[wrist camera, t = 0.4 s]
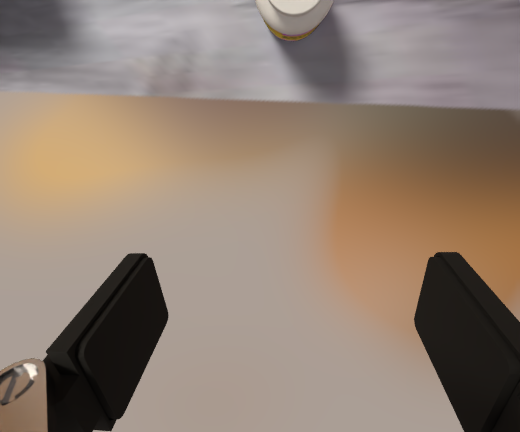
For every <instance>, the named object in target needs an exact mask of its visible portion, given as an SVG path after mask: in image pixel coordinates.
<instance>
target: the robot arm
mask: <svg viewBox="0 0 520 432" xmlns="http://www.w3.org/2000/svg"><path fill="white" fill-rule="evenodd" d="M167 320H168V310H167V307H166V303H165V300H164V297H163V293H162V290H161V287H160V283H159V280H158V276H157V273H156V270H155V266H154V263H153V260H152V258H148V256H147V254H144V253H141V254H140V253H139V254H138V253H137V254H128V255H127V256H126V257H125V258H124V259H123V260H122V262H121V263H120V264H119V265H118V266H117V267H116V269H115V270H114V271H113V272H112V273H111V275H110V276H109V277H108V278H107V279H106V280H105V282H104V283H103V284H102V285H101V286H100V288H99V289H98V290H97V291H96V292H95V294H94V295H93V296H92V297H91V298H90V300H89V301H88V302H87V303H86V304H85V305H84V307H83V308H82V309H81V310H80V312H79V313H78V314H77V315H76V316H75V317H74V319H73V320H72V321H71V322H70V324H68V326H67V327H66V328H65V329H64V330H63V332H62V333H61V334H60V335H59V336H58V338H57V339H56V340H55V341H54V342H53V344H52V345H51V346H50V347H49V348H48V349H47V351H46V353H47V354H48V355H47V356H46V358H45V359H44V360H43V361H41V360H40V359H34V358H31V359H25V360H21V361H19V362H16V363H13V364H12V365H10V366H8V367H6V368H4V369H3V370H1V371H0V432H92V431H93V430H102V431H111V430H112V428H113V426H114V424H115V422H116V420H117V419H120V418H121V417H122V416H123V414H124V413H125V410H126V408H127V406H128V404H129V402H130V400H131V397H132V396H133V393H134V391H135V389H136V387H137V385H138V383H139V381H140V379H141V376H142V374H143V372H144V370H145V368H146V366H147V364H148V361H149V359H150V357H151V355H152V353H153V351H154V349H155V347H156V345H157V343H158V340H159V338H160V336H161V334H162V332H163V330H164V328H165V326H166V323H167ZM414 321H415V327H416V330H417V332H418V334H419V336H420V338H421V340H422V342H423V344H424V347H425V349H426V351H427V353H428V355H429V357H430V360H431V362H432V364H433V366H434V368H435V370H436V372H437V374H438V377H439V379H440V381H441V383H442V385H443V387H444V389H445V392H446V394H447V396H448V398H449V400H450V402H451V404H452V406H453V409H454V411H455V413H456V415H457V417H458V419H459V421H460V424H461V425H462V428H463V430H464V432H520V322H519V321H518V320H517V319H516V317H515V316H514V315H513V314H512V313H511V312H510V311H509V309H508V308H507V307H506V306H505V305H504V304H503V303H502V302H501V300H500V299H499V298H498V297H497V296H496V295H495V293H494V292H493V291H492V290H491V289H490V288H489V287H488V286H487V284H486V283H485V282H484V281H483V280H482V279H481V278H480V276H479V275H478V274H477V273H476V272H475V271H474V270H473V268H472V267H470V265H469V264H468V263H467V262H466V260H465V259H464V258H463V257H462V256H461V255H460V254H459V253H457V252H438V253H436V254H435V255H434V257H430V258H429V260H428V264H427V268H426V272H425V276H424V280H423V284H422V288H421V292H420V296H419V301H418V305H417V309H416V313H415V318H414Z"/></svg>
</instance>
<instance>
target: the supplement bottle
mask: <svg viewBox="0 0 520 432" xmlns="http://www.w3.org/2000/svg"><path fill="white" fill-rule="evenodd" d="M255 1H256V5H257V8H258V10H259V12H260V14H261V16H262V18H263V20H264V22H265V24H266V25H267V27H268V28H269V30H270V31H271V32H272V33H273V34H274V35H275V36H277V37H278V38H280V39H283V40H286V41H297V40H301V39H303V38H305V37H307V36H308V35H309V34H311V33H312V32H313V31H314V30H315V29H316V28H317V26H318V25H319V24H320V22H321V21H322V20H323V19H324V18H325V16H326V15H327V13H328V12H329V10H330V8H331V6H332V4H333V1H334V0H255Z"/></svg>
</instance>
